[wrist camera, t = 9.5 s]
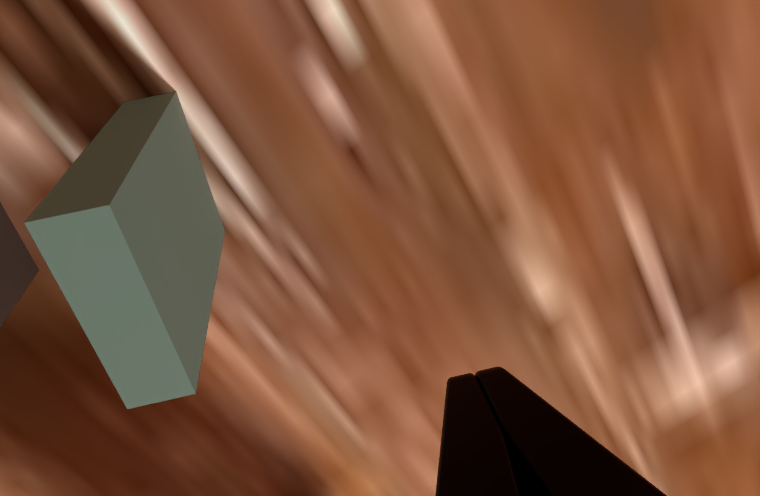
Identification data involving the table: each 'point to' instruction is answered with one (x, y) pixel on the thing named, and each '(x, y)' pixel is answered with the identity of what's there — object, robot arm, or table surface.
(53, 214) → the teal domino
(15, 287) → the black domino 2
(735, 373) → the table surface
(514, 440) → the robot arm
